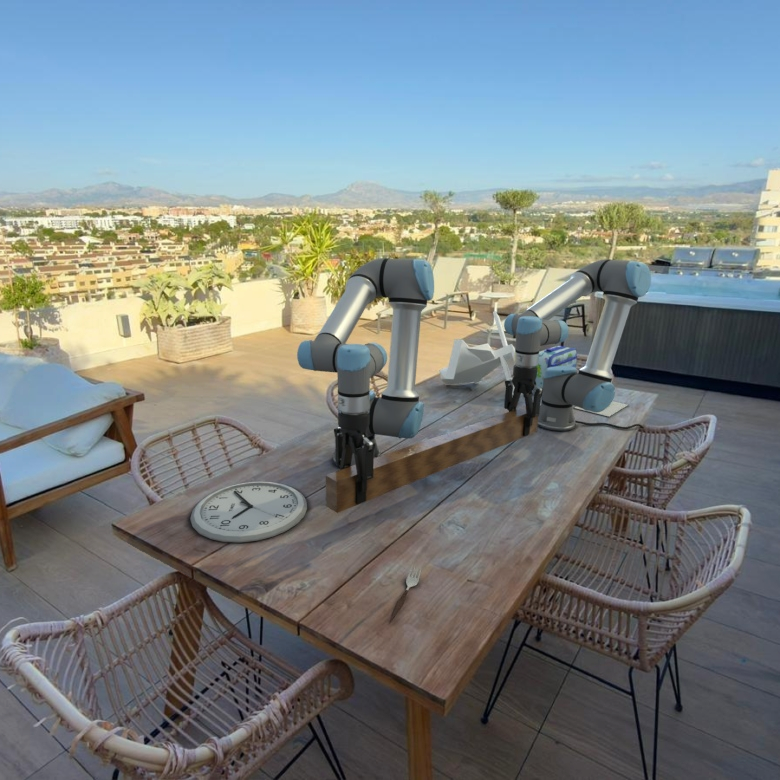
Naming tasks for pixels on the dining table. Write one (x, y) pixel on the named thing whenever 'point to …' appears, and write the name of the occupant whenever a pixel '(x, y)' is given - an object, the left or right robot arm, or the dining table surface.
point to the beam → (426, 458)
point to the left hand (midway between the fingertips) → (354, 497)
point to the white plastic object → (477, 360)
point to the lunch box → (554, 360)
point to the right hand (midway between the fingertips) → (519, 432)
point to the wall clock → (248, 512)
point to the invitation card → (609, 409)
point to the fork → (410, 583)
